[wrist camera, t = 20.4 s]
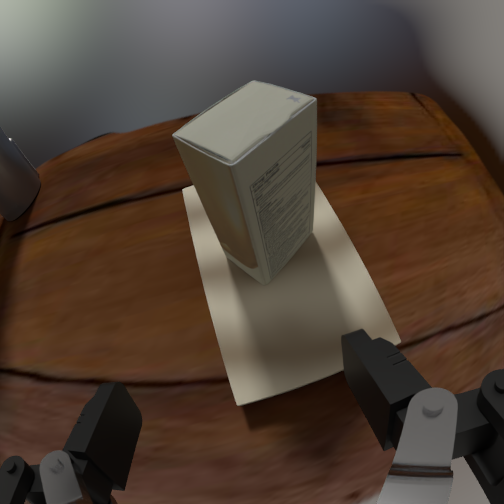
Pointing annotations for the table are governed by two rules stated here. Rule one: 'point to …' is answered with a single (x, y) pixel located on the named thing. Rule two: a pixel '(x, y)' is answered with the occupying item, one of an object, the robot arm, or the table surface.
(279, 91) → the skincare box
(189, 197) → the birch board
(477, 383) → the table surface
